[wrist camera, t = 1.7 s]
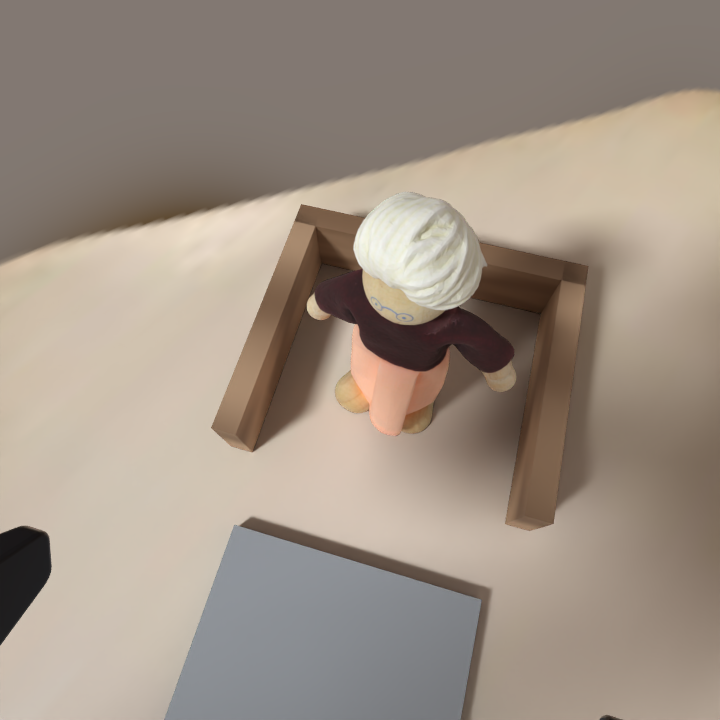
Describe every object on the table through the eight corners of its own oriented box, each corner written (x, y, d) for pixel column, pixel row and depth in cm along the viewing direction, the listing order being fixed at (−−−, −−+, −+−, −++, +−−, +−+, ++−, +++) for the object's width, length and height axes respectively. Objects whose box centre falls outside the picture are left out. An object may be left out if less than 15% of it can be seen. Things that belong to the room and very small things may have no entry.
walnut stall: (529, 530, 21) (553, 523, 18) (231, 446, 23) (211, 427, 20) (564, 300, 25) (588, 266, 22) (308, 242, 27) (301, 204, 24)
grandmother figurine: (304, 421, 23) (232, 260, 11) (326, 344, 24) (282, 130, 13) (477, 460, 22) (593, 329, 10) (489, 378, 24) (603, 182, 12)
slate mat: (418, 933, 16) (420, 946, 16) (132, 821, 18) (124, 829, 17) (478, 599, 20) (481, 599, 19) (237, 526, 21) (234, 524, 21)
